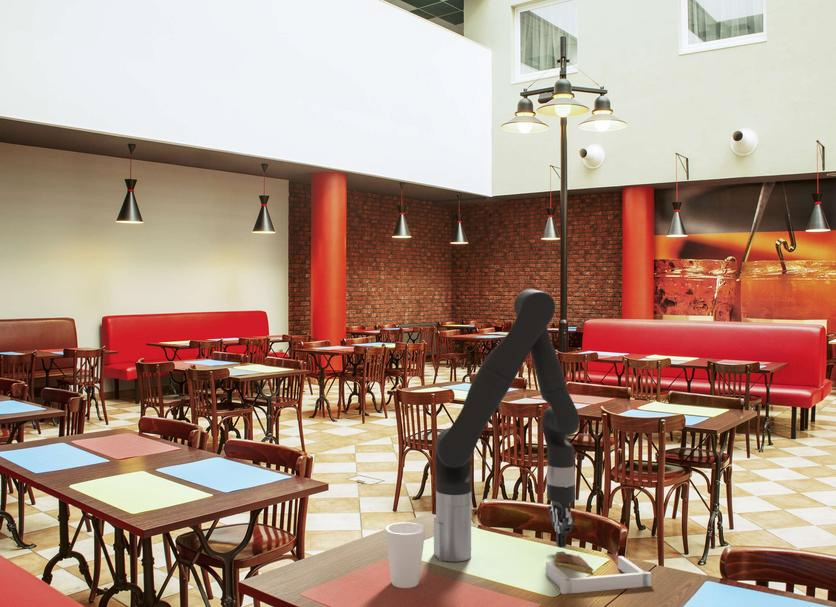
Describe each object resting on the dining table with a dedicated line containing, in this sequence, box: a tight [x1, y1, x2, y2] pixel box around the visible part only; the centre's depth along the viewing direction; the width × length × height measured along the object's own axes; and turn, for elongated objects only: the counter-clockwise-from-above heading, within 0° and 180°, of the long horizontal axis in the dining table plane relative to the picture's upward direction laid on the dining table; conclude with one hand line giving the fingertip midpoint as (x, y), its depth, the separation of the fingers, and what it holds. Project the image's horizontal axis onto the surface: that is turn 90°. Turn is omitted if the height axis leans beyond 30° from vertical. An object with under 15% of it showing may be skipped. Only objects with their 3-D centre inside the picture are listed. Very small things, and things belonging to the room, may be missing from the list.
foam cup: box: [384, 521, 426, 589], centre depth 176 cm, size 10×9×13 cm
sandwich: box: [553, 553, 594, 574], centre depth 187 cm, size 11×8×2 cm
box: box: [545, 555, 652, 595], centre depth 178 cm, size 22×12×3 cm, turn 103°
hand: (561, 546), depth 198 cm, fingers closed
